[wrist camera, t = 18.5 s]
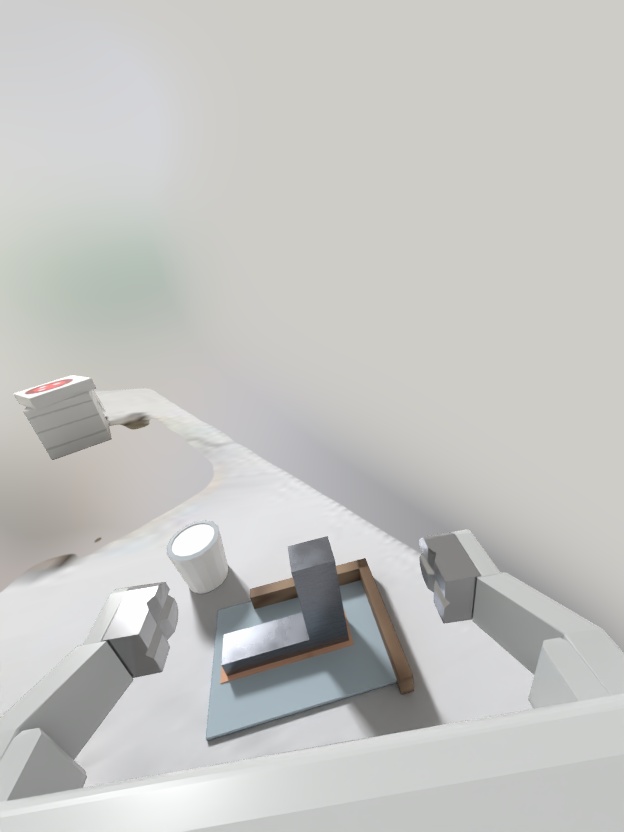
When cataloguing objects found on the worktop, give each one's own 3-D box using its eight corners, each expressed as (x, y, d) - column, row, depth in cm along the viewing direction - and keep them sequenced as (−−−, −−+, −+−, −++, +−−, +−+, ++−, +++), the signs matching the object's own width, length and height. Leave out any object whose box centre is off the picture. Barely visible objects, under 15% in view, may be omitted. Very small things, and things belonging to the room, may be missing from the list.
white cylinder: (178, 573, 46) (160, 538, 43) (222, 547, 49) (209, 512, 47) (191, 608, 41) (172, 570, 38) (240, 576, 44) (226, 539, 41)
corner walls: (256, 739, 28) (249, 725, 27) (254, 602, 40) (250, 589, 39) (413, 690, 30) (413, 675, 29) (366, 571, 42) (365, 558, 41)
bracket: (341, 613, 37) (327, 536, 32) (349, 640, 34) (334, 560, 29) (228, 645, 35) (194, 570, 30) (226, 676, 33) (189, 599, 28)
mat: (206, 740, 29) (205, 737, 29) (219, 612, 40) (217, 609, 40) (408, 678, 31) (408, 675, 30) (366, 571, 42) (366, 569, 41)
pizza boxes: (112, 412, 118) (90, 365, 110) (118, 439, 94) (91, 381, 87) (50, 431, 109) (22, 382, 102) (40, 467, 86) (2, 405, 78)
